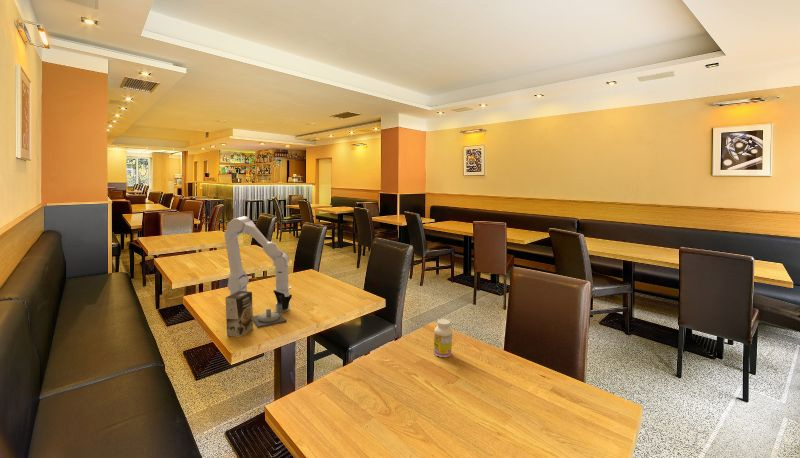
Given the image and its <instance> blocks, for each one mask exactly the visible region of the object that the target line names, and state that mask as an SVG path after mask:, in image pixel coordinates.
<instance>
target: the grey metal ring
mask: <svg viewBox="0 0 800 458" xmlns="http://www.w3.org/2000/svg"><path fill="white" fill-rule="evenodd" d="M290 304H291V303H290V302H289V306H288V309H286V310H283V308H282V303H281V301H280V302H277V301H276V303H275V310H276V311H275V312H277V311H279V313H284V312H285V313H286V312H288V311H289V310H290V309H291V308H290Z"/></svg>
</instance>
